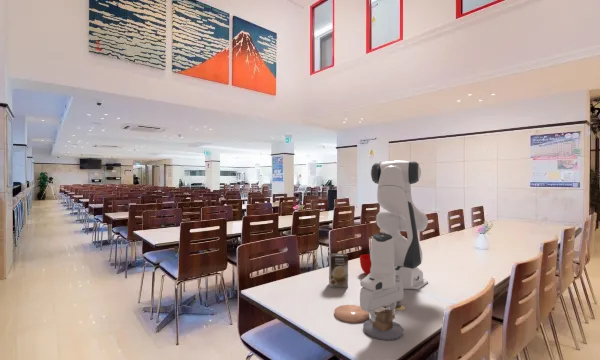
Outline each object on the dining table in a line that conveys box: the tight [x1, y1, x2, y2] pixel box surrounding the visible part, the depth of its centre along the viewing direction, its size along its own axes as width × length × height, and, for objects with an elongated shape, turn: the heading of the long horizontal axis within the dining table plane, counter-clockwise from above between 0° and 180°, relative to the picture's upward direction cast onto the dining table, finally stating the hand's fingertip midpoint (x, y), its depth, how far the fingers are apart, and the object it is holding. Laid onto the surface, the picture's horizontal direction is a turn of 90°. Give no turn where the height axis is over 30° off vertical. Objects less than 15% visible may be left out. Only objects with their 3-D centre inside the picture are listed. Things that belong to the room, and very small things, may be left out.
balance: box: [383, 300, 406, 319], centre depth 122 cm, size 7×18×14 cm, turn 35°
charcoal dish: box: [362, 318, 404, 342], centre depth 111 cm, size 14×14×1 cm
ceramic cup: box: [359, 253, 371, 276], centre depth 180 cm, size 13×17×10 cm
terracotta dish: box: [333, 304, 370, 324], centre depth 124 cm, size 14×14×1 cm
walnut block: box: [373, 307, 394, 332], centre depth 111 cm, size 5×5×6 cm
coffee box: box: [328, 253, 349, 288], centre depth 159 cm, size 9×6×16 cm
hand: (382, 317), depth 111 cm, fingers open, 8 cm apart
